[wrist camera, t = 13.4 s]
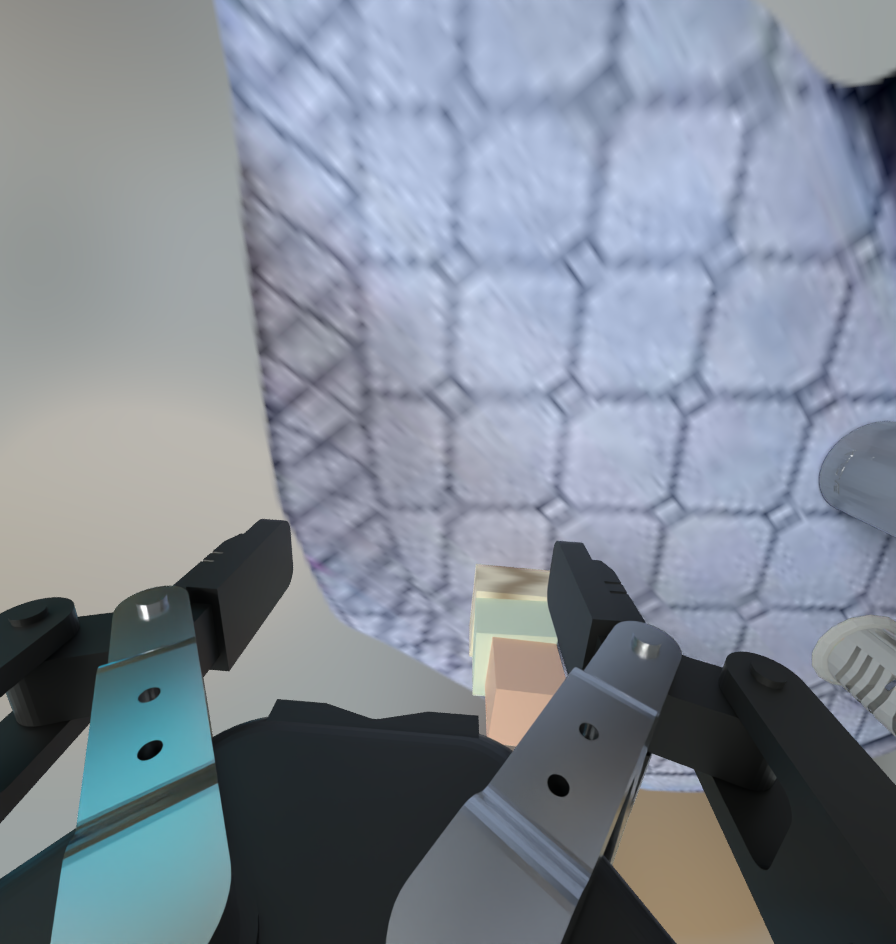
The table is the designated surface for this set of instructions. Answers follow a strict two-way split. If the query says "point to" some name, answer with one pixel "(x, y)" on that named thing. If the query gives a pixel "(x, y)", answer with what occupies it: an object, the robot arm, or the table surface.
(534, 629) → the sage top block
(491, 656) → the terracotta block
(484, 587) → the birch base block
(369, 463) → the table surface
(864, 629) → the french press
